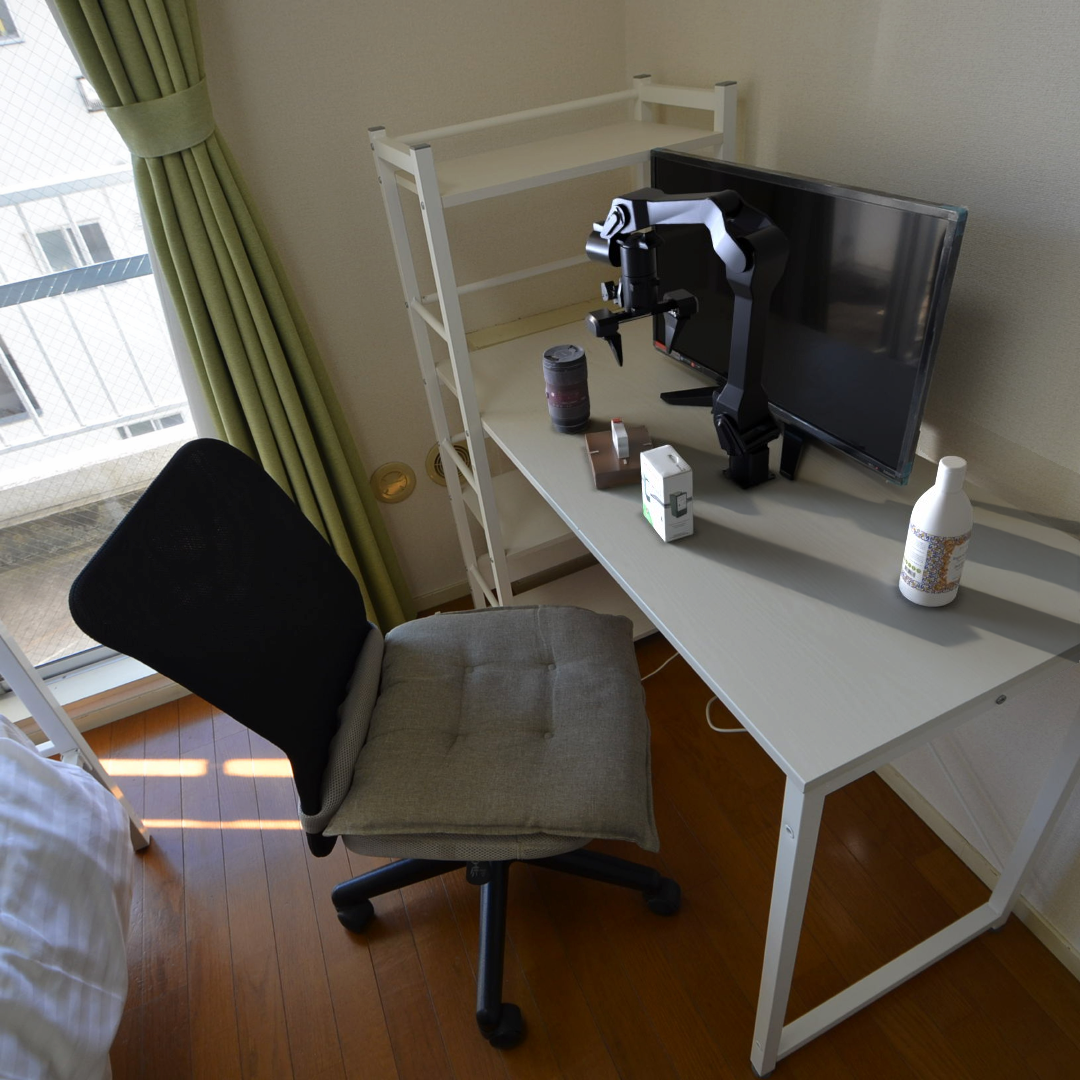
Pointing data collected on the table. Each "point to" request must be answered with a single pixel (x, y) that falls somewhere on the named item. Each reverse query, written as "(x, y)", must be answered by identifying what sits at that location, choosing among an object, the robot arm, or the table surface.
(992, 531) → the table surface
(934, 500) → the bath foam
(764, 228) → the robot arm
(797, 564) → the table surface
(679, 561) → the table surface
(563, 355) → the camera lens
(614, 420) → the small grey box
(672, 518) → the ink box
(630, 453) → the brown flat block
